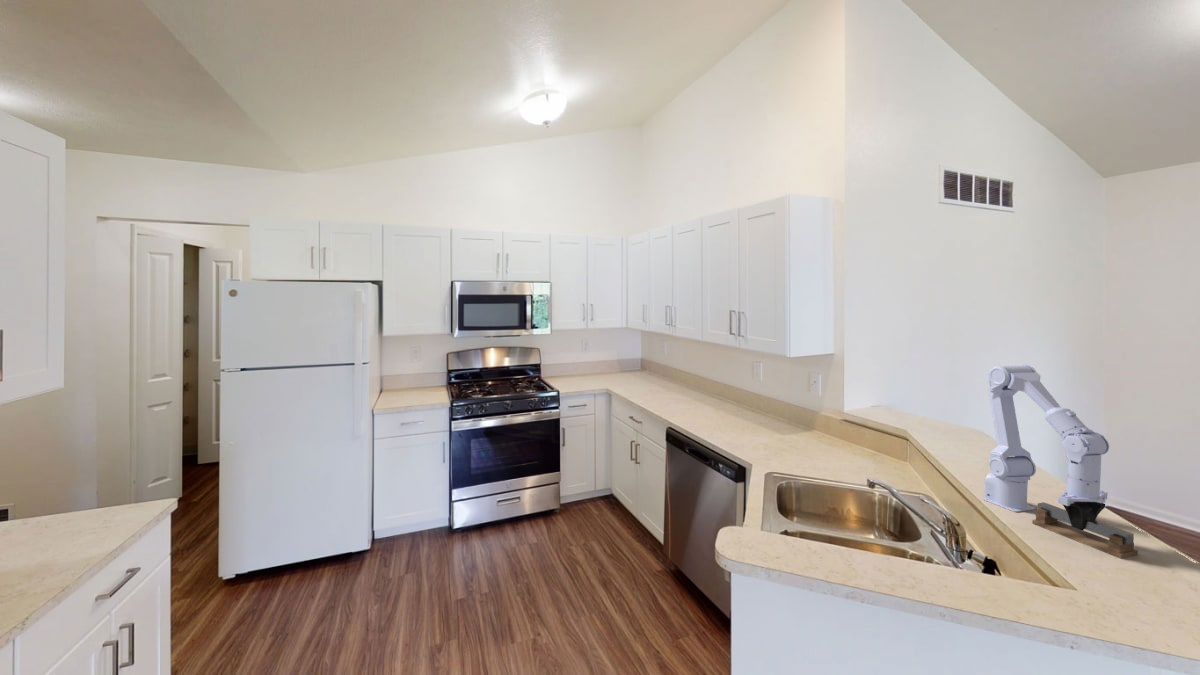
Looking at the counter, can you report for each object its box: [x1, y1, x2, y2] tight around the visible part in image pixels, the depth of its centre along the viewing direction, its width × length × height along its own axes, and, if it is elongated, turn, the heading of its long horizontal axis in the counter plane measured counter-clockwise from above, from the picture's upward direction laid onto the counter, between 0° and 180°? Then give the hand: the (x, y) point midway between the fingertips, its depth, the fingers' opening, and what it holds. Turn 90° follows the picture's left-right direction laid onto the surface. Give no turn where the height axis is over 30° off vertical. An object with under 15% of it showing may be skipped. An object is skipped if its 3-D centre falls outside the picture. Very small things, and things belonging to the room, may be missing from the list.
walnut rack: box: [1031, 508, 1139, 559], centre depth 114 cm, size 18×6×5 cm, turn 13°
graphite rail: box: [1036, 502, 1135, 545], centre depth 114 cm, size 18×2×2 cm, turn 13°
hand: (1081, 527), depth 114 cm, fingers closed on graphite rail, 2 cm apart
